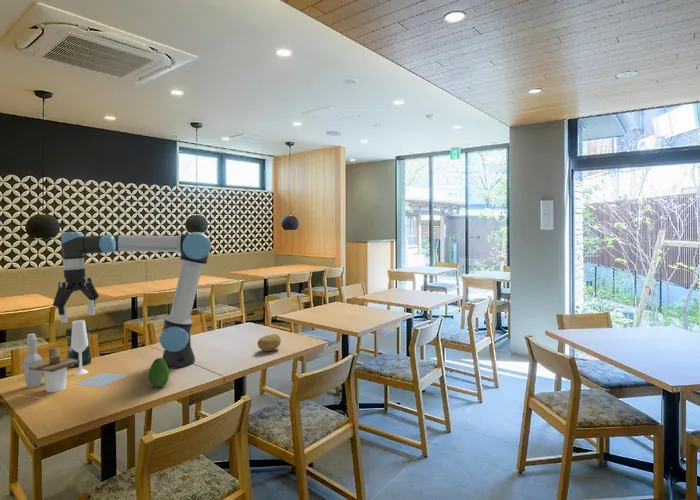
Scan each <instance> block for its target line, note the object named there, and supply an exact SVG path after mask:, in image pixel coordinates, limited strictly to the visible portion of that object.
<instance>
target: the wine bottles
mask: <svg viewBox="0 0 700 500" xmlns="http://www.w3.org/2000/svg"><path fill="white" fill-rule="evenodd" d="M86 332H87V338H88V346H87V348H86V349H85V350H84V351H83V352H82V366H85V365H88V364H91V362H92V354H91V349H90V342H89V341H90V339H89V338H90V334H91V332H90V327H89V326H88V325H86ZM71 336H72V327H69V328H66V329H65V339H66V340H67V356H66V357H67V358H66V359H74V360H79V353H78V352H76V351H74V350H73V349H72V348H71ZM77 366H78V367H79V363H77V364H74V365H71V366H70V368H73V367H74V368H77Z"/></svg>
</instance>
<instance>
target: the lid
mask: <svg viewBox="0 0 700 500" xmlns="http://www.w3.org/2000/svg"><path fill="white" fill-rule="evenodd" d="M60 351H61V350H60V347H52V348H49V349H48V360H47V361H44V362H43V361H42V363H40V364H37V365H34V366H31V367H29V370H38V371H42V372H43V371H47V372H54V371H57V370H60V369H63V368H65V367H67V368H68V367H69V366H71V365H74V364H77V363H79V362H80V360H74V359H67V358H62V357H61V353H60Z"/></svg>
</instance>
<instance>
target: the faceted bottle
mask: <svg viewBox="0 0 700 500" xmlns="http://www.w3.org/2000/svg"><path fill="white" fill-rule="evenodd" d="M26 346H27V355H26V357H25V358H24V360H23V361H22V362H23V373H24V379H25V384H26V388H28V389H33V388H36V387H39V386H41V384H42V377H43V376H42V375H43V374H42V373H43V371H38V370H29V367H31V366H34V365H37V364H40V363H43V357H42V356H41V355H39V353H37V336H36V334H35V333H29V334H27V336H26Z"/></svg>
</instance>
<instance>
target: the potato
mask: <svg viewBox="0 0 700 500" xmlns="http://www.w3.org/2000/svg"><path fill="white" fill-rule="evenodd" d="M281 343H282V340H281V337H280V335H278V334H277V333H273V334H268V335H264V336H262V337H261V338H259V339H258V341H257V346H258V348H259V349H260V350H261V351H263V352H271V351H274V350H275V349H277V348H279V347H280V346H281Z"/></svg>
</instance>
